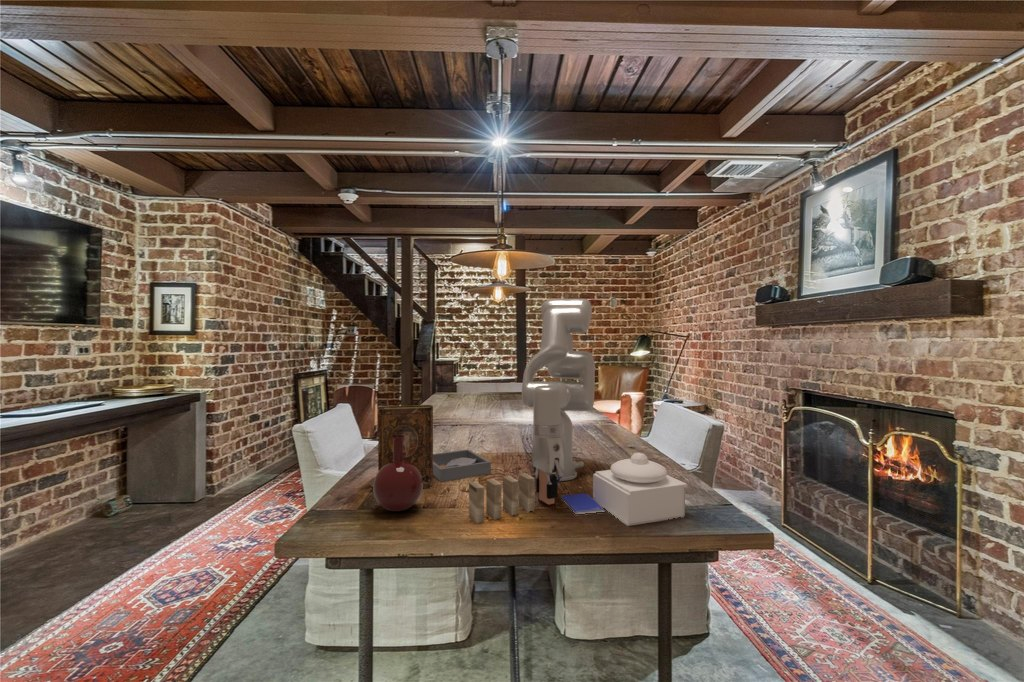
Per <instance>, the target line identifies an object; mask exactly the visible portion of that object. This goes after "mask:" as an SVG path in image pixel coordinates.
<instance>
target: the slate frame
mask: <svg viewBox="0 0 1024 682" xmlns="http://www.w3.org/2000/svg"><path fill="white" fill-rule="evenodd" d="M458 458H471V459H476V463H475V464H468V465H461V466H455V467H448V468H445V467H444V468H443V467H442V466H441V465H443V466H444V465H447V464H448V463H449V462H450V461H451V460H453V459H458ZM485 474H486V475H491V474H492V462H491V461H490V460H489V459H486V458H485V457H483V456H481V455H479V454H478V453H476V452H475V451H472V450H471V449H461V450H455V451H445V452H440V453H439V452H438V453H433V478H435V479H436V480H437V481H439V482H441V483H442V481H443V482H447V481H448V482H449V481H453V480H454V481H455V480H460V478H461V479H466V478H465V477H468V478H472V477H471V476H474V477H478V476H477V475H480V476H484V475H485Z"/></svg>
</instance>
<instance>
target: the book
mask: <svg viewBox="0 0 1024 682" xmlns="http://www.w3.org/2000/svg"><path fill="white" fill-rule="evenodd" d="M377 415H378V418H377V419H378V421H377V424H378V425H377V426H378V428H377V430H378V433H377V434H378V435H377V436H378V440H377V444H378V448H377V449H378V452H377V453H378V455H377V456H378V459H377V463H378V464H377V466H378V469H377V470H378V471H379V470H380V469H381V468H382V467H383V466H384V465H386V464H388V463H390V462H392V461H393V438H392V437H393V436H396V435H402V436H404V438H403V461H407V462H410V463H412V464H413V465H414V466H416V467H417V469H418V470H419V471H420V473H421V476H422V479H423V488H426V489H431V488H430V487H432V486H434V476H433V454H434V405H431V404H420V405H419V404H418V405H415V404H414V405H411V404H410V405H388V406H386V405H385V406H383V405H382V406H380V407H379V410H378V414H377ZM378 471H377V472H378ZM432 488H433V487H432Z"/></svg>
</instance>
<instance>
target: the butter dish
mask: <svg viewBox="0 0 1024 682" xmlns="http://www.w3.org/2000/svg"><path fill="white" fill-rule="evenodd" d="M648 458H649V457H648V456H647V455H645V453H643V452H634V453H633V454H632V455H631V456H630V458H625V459H621V460H618V461H616V462H614V463H613V464H611V466H610V468H609V469H606V470H599V471H598V470H597V471H596V470H595V473H593V476H592V499H593V500H594V501H595V502H597V503H598V504H599V505H601V506H602V507H603V508H605V509H606V510H607V511H608V512H607V511H606V510H605V511H606V512H607V513H609V512H610V513H611V514H612V515H611V514H610V513H609V514H610V515H611V516H613V515H614V516H615V519H617V518H618V519H619V521H620V522H621V523H623V524H624V525H626V526H627V527H630V526H637V525H642V524H648V523H649V524H650V523H656V522H663V521H669V520H674V519H673V518H675V519H679V518H678V517H681V518H685V517H686V488H688V483H686V482H684V481H681V480H679V479H676V478H674V477H672V476H670V475H669V474H668V470H667V469H666V468H665V467H664V465H661V464H660V463H658V462H655V461H652V460H649V459H648ZM614 516H613V517H614ZM684 516H685V517H684ZM618 519H617V520H618ZM668 519H669V520H668Z"/></svg>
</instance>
